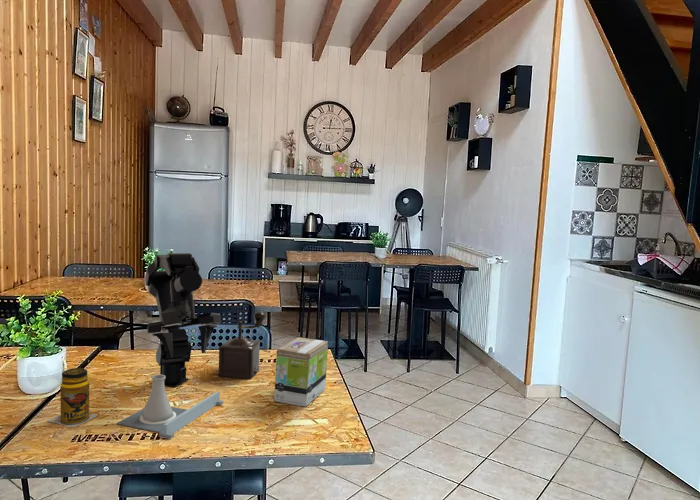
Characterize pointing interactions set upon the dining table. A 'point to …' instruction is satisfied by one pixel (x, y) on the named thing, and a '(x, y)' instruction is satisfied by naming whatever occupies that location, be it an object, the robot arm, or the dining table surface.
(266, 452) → the dining table surface
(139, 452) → the dining table surface
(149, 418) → the flask
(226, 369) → the dark wooden grinder box
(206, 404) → the grey footed bar
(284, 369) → the tea box
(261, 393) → the dining table surface
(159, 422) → the resting mat
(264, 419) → the dining table surface
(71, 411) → the condiment
